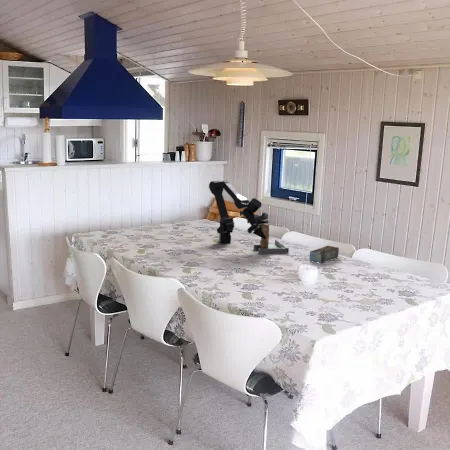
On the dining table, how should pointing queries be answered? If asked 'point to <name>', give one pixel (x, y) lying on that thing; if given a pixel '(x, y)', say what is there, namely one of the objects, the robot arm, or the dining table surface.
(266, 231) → the walnut post
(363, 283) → the dining table surface
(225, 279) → the dining table surface
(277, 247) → the green pad
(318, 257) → the dark grey box
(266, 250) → the metal rail corridor
